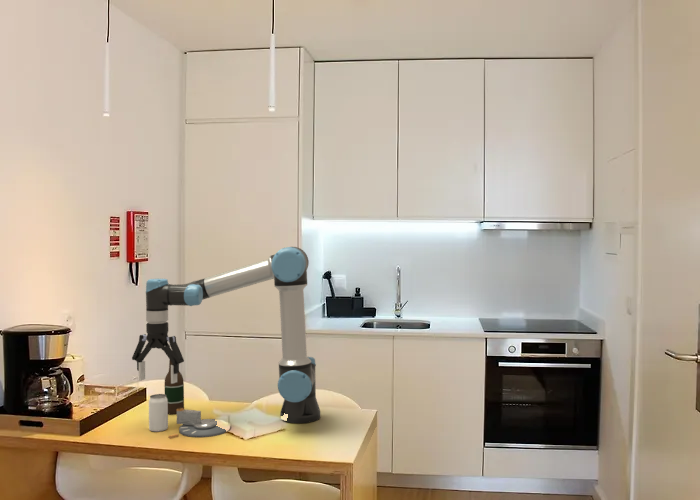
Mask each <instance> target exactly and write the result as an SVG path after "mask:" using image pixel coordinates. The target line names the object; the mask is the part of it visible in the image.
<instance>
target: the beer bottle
mask: <svg viewBox="0 0 700 500" xmlns="http://www.w3.org/2000/svg"><path fill="white" fill-rule="evenodd" d="M172 364H173V363H172V362H171V361H170V359H169V364H168V371H167V373H166V376H165V377H164V394H165V395H166V397H167V400H168V416H174V415H176V416H177V409H178V408H180V407H181V408H184V409H185V387H184V386H185V384H184V383H185V381H184V376H183V375H182V373H181V371H180V370H179V373H177V382H176V383H173V384H172V383H171V365H172Z"/></svg>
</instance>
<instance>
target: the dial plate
mask: <svg viewBox="0 0 700 500" xmlns="http://www.w3.org/2000/svg"><path fill="white" fill-rule="evenodd" d="M206 419H207V418H204V419H202V418H201V420H206ZM209 419H210V420H215V419H216V418H209ZM178 431H179V432H178V433H179V434H181V436H184V437H187V438H210V437H211V438H212V437H216V436H220V435H224V434H226V433H227V432H226V430H225V429H222V428H220V427H218V426H215V427H213V428H209V429H197V428H194V426H193V425H184V424H180V426H179V429H178ZM225 432H226V433H225Z"/></svg>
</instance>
